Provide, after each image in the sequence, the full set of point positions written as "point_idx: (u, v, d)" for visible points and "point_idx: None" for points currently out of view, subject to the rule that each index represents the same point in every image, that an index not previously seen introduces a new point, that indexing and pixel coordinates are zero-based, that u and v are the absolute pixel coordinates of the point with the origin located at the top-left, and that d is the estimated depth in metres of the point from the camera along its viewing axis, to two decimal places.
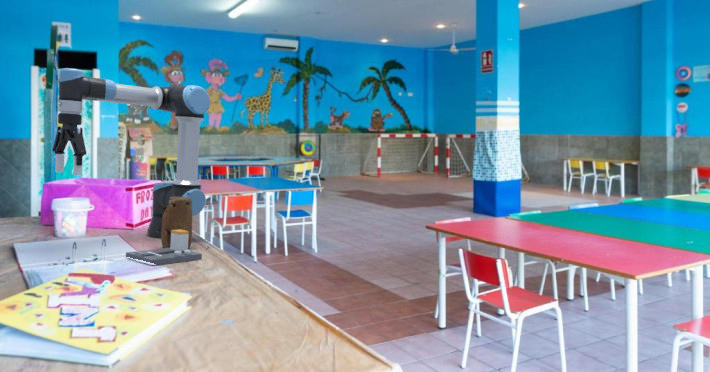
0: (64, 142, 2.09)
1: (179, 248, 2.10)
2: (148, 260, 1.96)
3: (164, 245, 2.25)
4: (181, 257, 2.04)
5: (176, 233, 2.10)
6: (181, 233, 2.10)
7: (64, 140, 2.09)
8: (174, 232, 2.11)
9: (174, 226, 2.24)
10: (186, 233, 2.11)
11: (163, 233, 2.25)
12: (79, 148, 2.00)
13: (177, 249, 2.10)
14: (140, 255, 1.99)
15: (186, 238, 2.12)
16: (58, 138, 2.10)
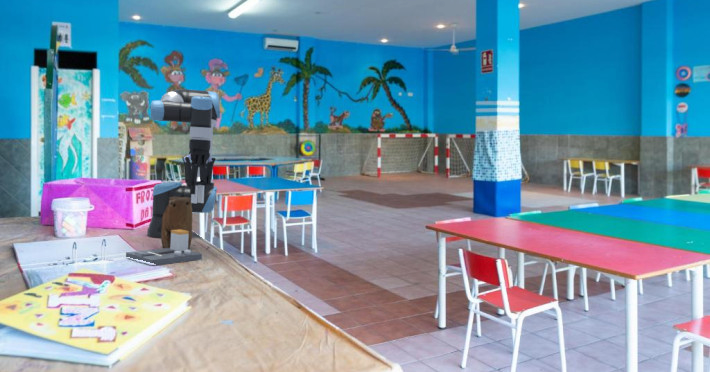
0: (201, 169, 2.17)
1: (179, 248, 2.10)
2: (148, 260, 1.96)
3: (164, 245, 2.25)
4: (181, 257, 2.04)
5: (176, 233, 2.10)
6: (181, 233, 2.10)
7: (201, 167, 2.17)
8: (174, 232, 2.11)
9: (175, 226, 2.24)
10: (186, 233, 2.11)
11: (163, 233, 2.25)
12: (185, 178, 2.13)
13: (177, 249, 2.10)
14: (140, 255, 1.99)
15: (186, 238, 2.12)
16: (207, 168, 2.20)
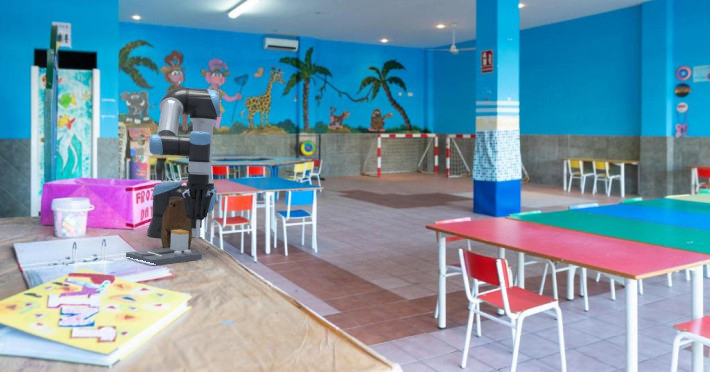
0: (199, 203, 2.17)
1: (179, 248, 2.10)
2: (148, 260, 1.96)
3: (164, 245, 2.25)
4: (181, 257, 2.04)
5: (176, 233, 2.10)
6: (181, 233, 2.10)
7: (198, 201, 2.17)
8: (174, 232, 2.11)
9: (174, 226, 2.24)
10: (186, 233, 2.11)
11: (163, 233, 2.25)
12: (186, 213, 2.14)
13: (177, 249, 2.10)
14: (140, 255, 1.99)
15: (186, 238, 2.12)
16: (204, 202, 2.20)
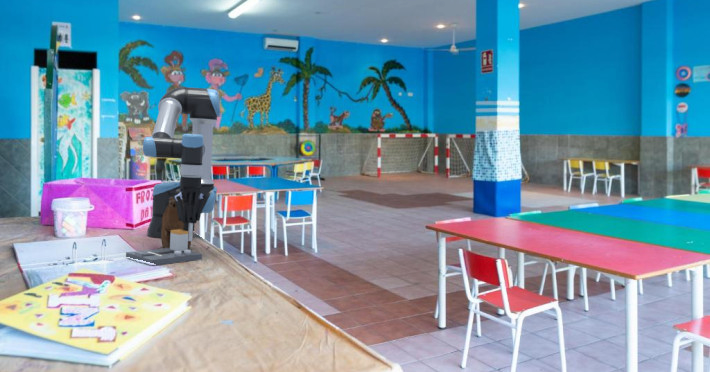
0: (191, 206, 2.15)
1: (178, 248, 2.09)
2: (148, 260, 1.96)
3: (164, 245, 2.25)
4: (181, 257, 2.04)
5: (176, 233, 2.10)
6: (181, 233, 2.10)
7: (191, 204, 2.15)
8: (174, 232, 2.11)
9: (174, 226, 2.24)
10: (186, 233, 2.11)
11: (163, 233, 2.25)
12: (178, 216, 2.12)
13: (177, 249, 2.10)
14: (140, 255, 1.99)
15: (186, 238, 2.11)
16: (197, 205, 2.18)
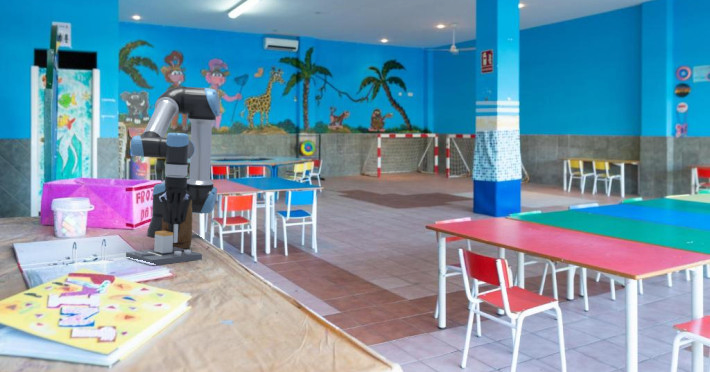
0: (176, 207, 2.10)
1: (163, 250, 2.05)
2: (148, 260, 1.96)
3: None
4: (181, 257, 2.04)
5: (160, 234, 2.05)
6: (165, 234, 2.05)
7: (176, 204, 2.10)
8: (158, 233, 2.06)
9: None
10: (170, 234, 2.06)
11: None
12: (163, 217, 2.07)
13: (161, 251, 2.05)
14: (140, 255, 1.99)
15: (170, 239, 2.07)
16: (182, 205, 2.13)
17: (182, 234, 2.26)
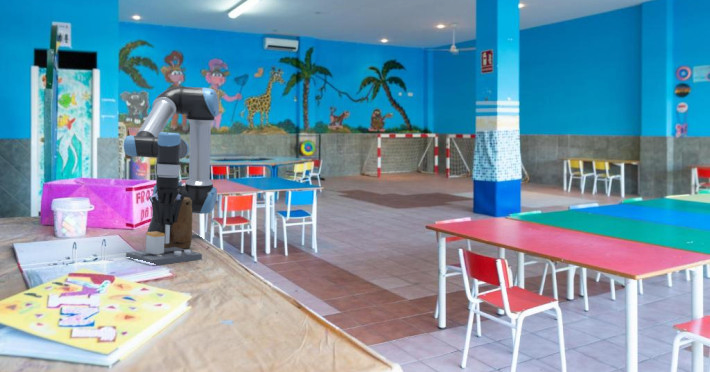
0: (168, 207, 2.07)
1: (154, 251, 2.02)
2: (148, 260, 1.96)
3: (164, 245, 2.25)
4: (181, 257, 2.04)
5: (151, 235, 2.02)
6: (156, 235, 2.02)
7: (168, 205, 2.07)
8: (149, 234, 2.03)
9: (174, 226, 2.24)
10: (162, 235, 2.04)
11: None
12: (154, 217, 2.04)
13: (152, 252, 2.02)
14: (140, 255, 1.99)
15: (162, 240, 2.04)
16: (174, 206, 2.10)
17: (182, 234, 2.26)
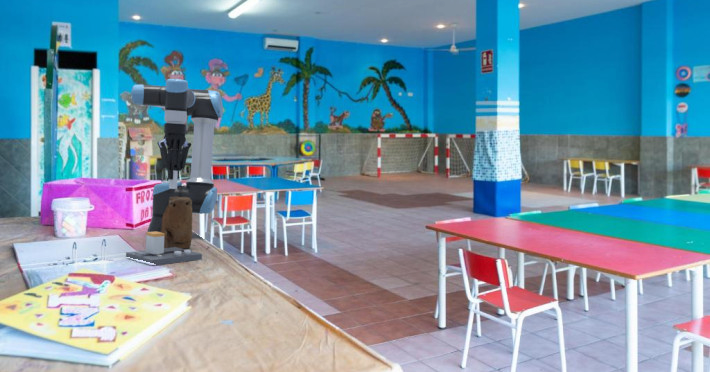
0: (176, 154, 2.11)
1: (154, 251, 2.02)
2: (148, 260, 1.96)
3: (164, 245, 2.25)
4: (181, 257, 2.04)
5: (151, 235, 2.02)
6: (156, 235, 2.02)
7: (175, 151, 2.11)
8: (149, 234, 2.03)
9: (174, 226, 2.24)
10: (162, 235, 2.04)
11: None
12: (162, 163, 2.08)
13: (152, 252, 2.02)
14: (140, 255, 1.99)
15: (162, 240, 2.04)
16: (181, 152, 2.14)
17: (182, 234, 2.26)
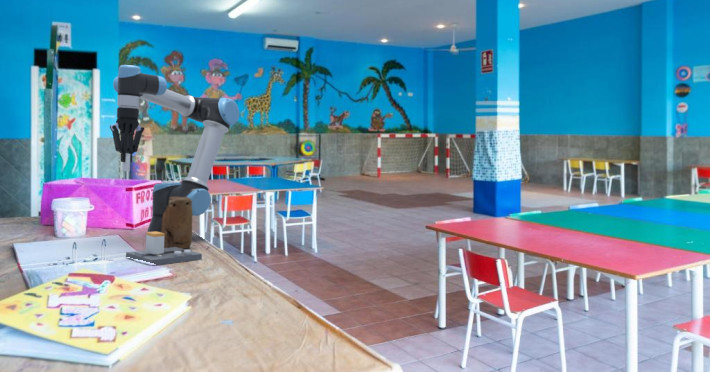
0: (128, 137, 2.19)
1: (154, 251, 2.02)
2: (148, 260, 1.96)
3: (164, 245, 2.25)
4: (181, 257, 2.04)
5: (151, 235, 2.02)
6: (156, 235, 2.02)
7: (128, 135, 2.19)
8: (149, 234, 2.03)
9: (174, 226, 2.24)
10: (162, 235, 2.04)
11: None
12: (115, 146, 2.16)
13: (152, 252, 2.02)
14: (140, 255, 1.99)
15: (162, 240, 2.04)
16: (135, 136, 2.22)
17: (182, 234, 2.26)
